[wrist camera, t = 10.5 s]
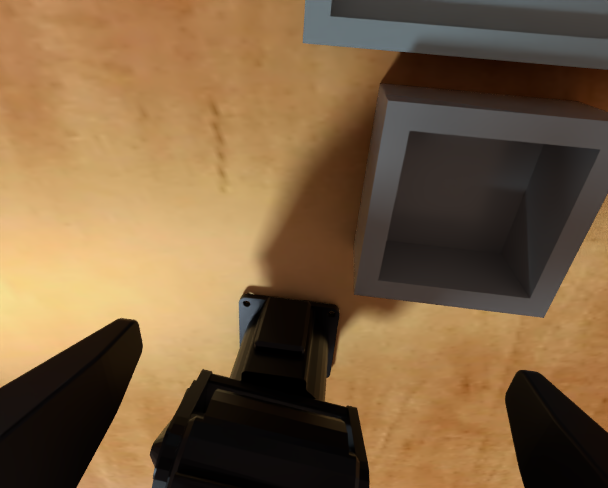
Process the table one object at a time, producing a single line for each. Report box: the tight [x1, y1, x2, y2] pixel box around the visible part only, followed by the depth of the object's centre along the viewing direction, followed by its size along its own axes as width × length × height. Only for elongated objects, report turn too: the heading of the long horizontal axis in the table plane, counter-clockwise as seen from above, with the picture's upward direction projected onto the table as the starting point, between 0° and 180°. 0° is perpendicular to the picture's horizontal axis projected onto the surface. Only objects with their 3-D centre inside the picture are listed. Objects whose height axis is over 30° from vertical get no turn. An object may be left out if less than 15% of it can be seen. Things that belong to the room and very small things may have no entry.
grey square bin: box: [353, 83, 608, 318], centre depth 18 cm, size 9×9×4 cm
